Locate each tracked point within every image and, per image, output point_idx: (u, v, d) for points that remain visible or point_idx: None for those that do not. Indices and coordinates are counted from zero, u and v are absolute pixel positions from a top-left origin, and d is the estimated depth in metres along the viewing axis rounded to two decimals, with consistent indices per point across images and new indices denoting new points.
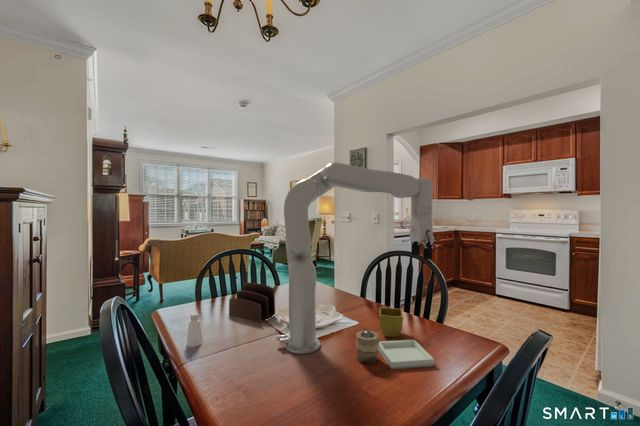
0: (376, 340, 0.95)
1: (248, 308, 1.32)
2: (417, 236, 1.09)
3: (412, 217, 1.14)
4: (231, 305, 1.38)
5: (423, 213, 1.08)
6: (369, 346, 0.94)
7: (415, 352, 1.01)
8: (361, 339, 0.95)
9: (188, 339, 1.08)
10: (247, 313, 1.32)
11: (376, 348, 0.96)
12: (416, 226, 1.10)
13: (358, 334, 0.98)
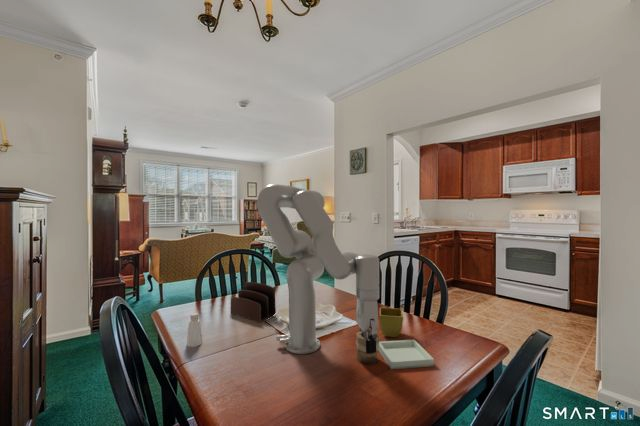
0: (376, 340, 0.95)
1: (248, 307, 1.33)
2: (361, 324, 0.95)
3: (358, 298, 0.99)
4: (233, 304, 1.39)
5: (367, 298, 0.94)
6: None
7: (415, 352, 1.01)
8: (361, 339, 0.95)
9: (188, 339, 1.08)
10: (248, 312, 1.33)
11: (376, 348, 0.96)
12: (360, 311, 0.96)
13: (358, 334, 0.98)
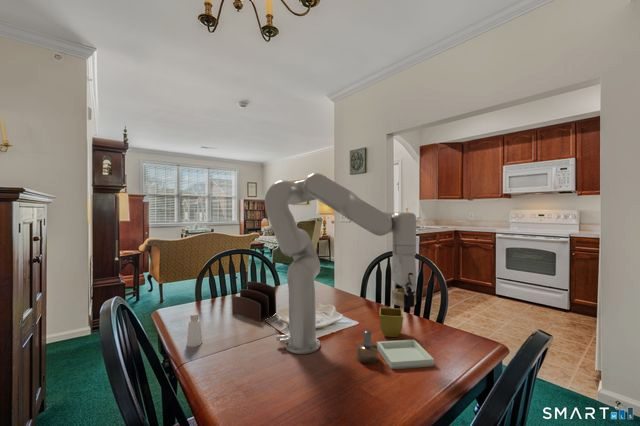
0: None
1: (249, 306, 1.34)
2: (399, 279, 0.96)
3: (394, 256, 1.01)
4: (234, 303, 1.40)
5: (405, 253, 0.95)
6: None
7: (415, 352, 1.01)
8: (399, 294, 0.97)
9: (188, 339, 1.08)
10: (248, 311, 1.34)
11: None
12: (397, 267, 0.97)
13: (395, 290, 1.00)
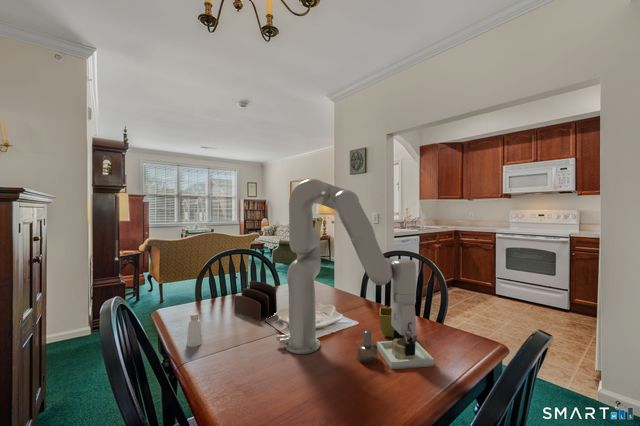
0: None
1: (250, 306, 1.35)
2: (398, 327, 0.97)
3: (394, 302, 1.01)
4: (236, 302, 1.42)
5: (405, 302, 0.96)
6: None
7: (415, 352, 1.01)
8: (398, 347, 0.97)
9: (188, 339, 1.08)
10: (249, 311, 1.35)
11: (413, 356, 0.97)
12: (397, 315, 0.97)
13: (394, 342, 1.00)
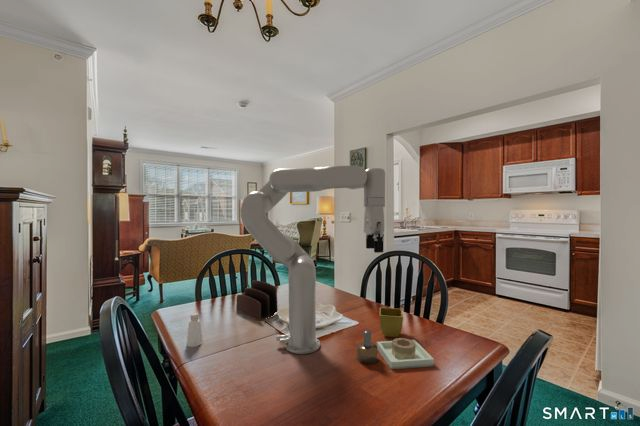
0: (413, 348, 0.97)
1: (251, 305, 1.36)
2: (368, 228, 1.05)
3: (365, 209, 1.09)
4: (238, 301, 1.43)
5: (374, 204, 1.04)
6: (406, 354, 0.96)
7: (415, 352, 1.01)
8: (398, 347, 0.97)
9: (188, 339, 1.08)
10: (250, 310, 1.36)
11: (413, 356, 0.97)
12: (368, 218, 1.06)
13: (394, 342, 1.00)
